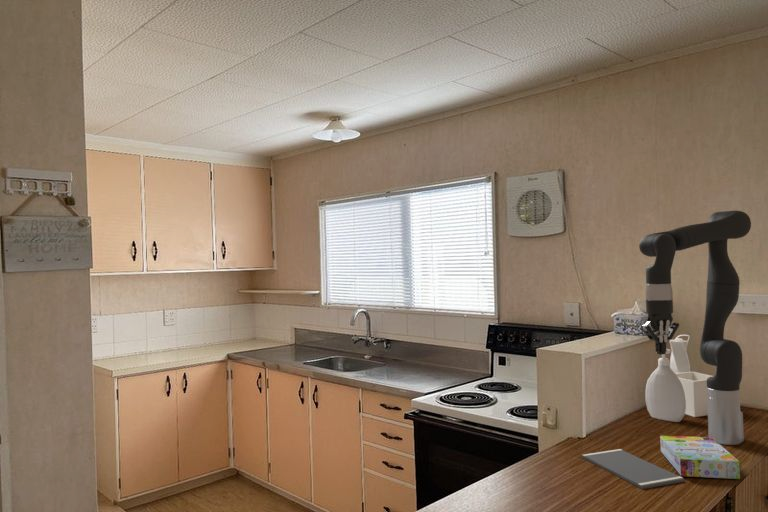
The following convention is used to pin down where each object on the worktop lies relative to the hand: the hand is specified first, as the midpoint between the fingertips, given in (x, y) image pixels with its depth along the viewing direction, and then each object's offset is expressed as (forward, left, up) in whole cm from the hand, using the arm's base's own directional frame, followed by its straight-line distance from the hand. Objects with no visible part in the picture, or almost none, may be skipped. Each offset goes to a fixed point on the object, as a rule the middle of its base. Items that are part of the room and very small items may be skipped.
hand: (661, 354), depth 176 cm
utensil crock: (-44, -32, -31) cm, 63 cm away
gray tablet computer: (+18, +6, -31) cm, 36 cm away
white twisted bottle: (-50, -45, -31) cm, 74 cm away
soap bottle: (-27, -28, -31) cm, 50 cm away
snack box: (+5, +7, -28) cm, 30 cm away
